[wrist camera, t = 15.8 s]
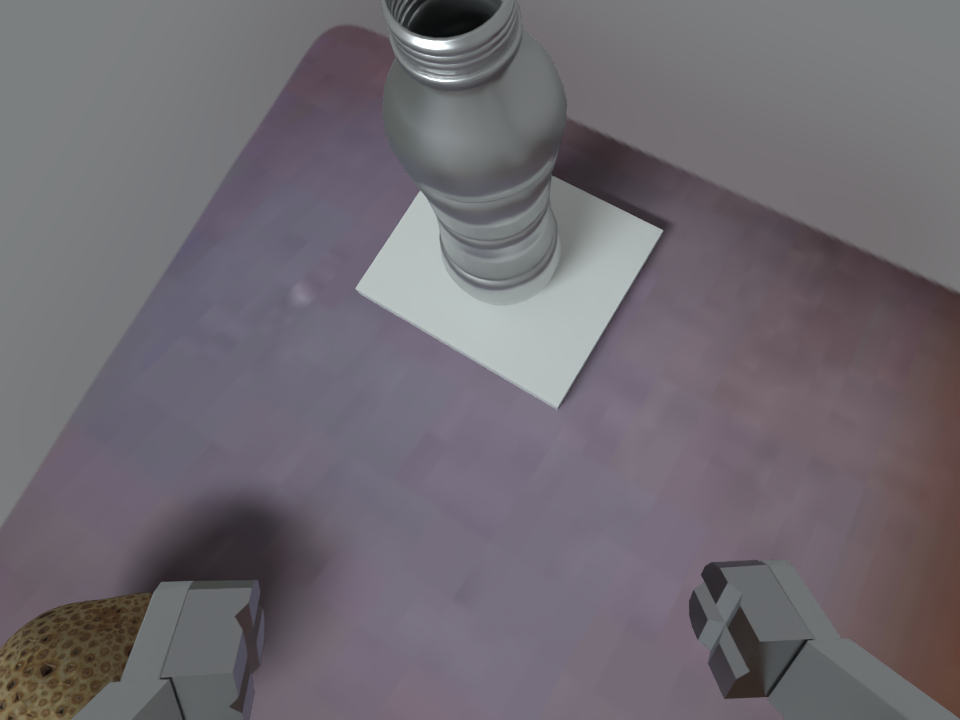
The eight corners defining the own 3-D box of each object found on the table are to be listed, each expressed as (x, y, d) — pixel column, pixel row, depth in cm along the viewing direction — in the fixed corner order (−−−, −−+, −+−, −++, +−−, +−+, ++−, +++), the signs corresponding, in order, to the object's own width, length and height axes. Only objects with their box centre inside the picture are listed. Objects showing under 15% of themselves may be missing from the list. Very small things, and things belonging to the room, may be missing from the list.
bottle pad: (660, 237, 36) (663, 230, 35) (557, 410, 34) (557, 407, 33) (462, 139, 39) (460, 130, 38) (360, 294, 37) (355, 288, 36)
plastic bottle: (485, 193, 36) (407, -147, 17) (582, 244, 35) (618, -64, 16) (427, 280, 36) (277, 28, 16) (524, 336, 34) (486, 134, 15)
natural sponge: (70, 749, 33) (-127, 855, 24) (91, 580, 35) (-84, 614, 26) (225, 755, 32) (84, 868, 23) (237, 581, 34) (113, 616, 25)
